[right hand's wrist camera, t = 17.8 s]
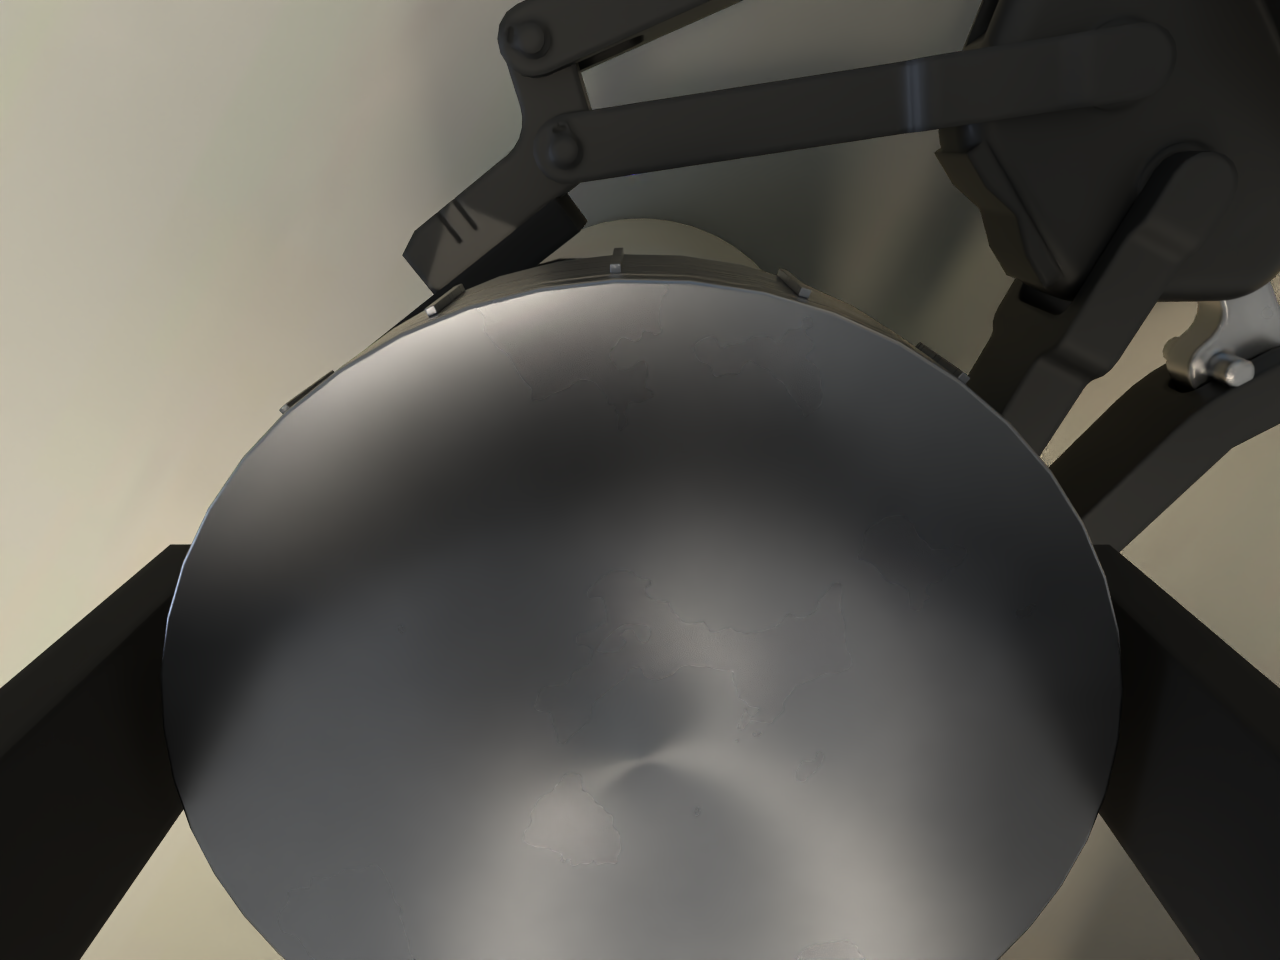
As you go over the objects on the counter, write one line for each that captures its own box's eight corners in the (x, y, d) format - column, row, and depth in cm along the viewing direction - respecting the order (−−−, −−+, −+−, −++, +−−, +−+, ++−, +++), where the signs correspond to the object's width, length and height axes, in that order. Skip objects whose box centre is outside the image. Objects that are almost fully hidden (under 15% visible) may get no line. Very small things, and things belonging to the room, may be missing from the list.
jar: (418, 436, 27) (125, 817, 11) (585, 146, 24) (491, 146, 9) (686, 592, 28) (740, 1100, 13) (872, 338, 26) (1207, 614, 10)
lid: (787, 1048, 15) (810, 1190, 13) (133, 798, 13) (41, 916, 11) (1219, 503, 11) (1341, 578, 9) (420, 71, 10) (362, 51, 8)
